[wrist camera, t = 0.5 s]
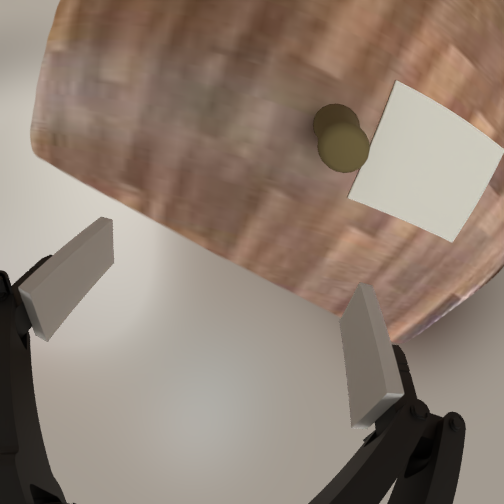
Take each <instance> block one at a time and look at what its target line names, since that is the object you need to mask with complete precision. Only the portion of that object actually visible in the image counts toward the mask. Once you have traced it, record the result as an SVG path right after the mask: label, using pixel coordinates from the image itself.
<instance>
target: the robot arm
mask: <svg viewBox="0 0 504 504" xmlns="http://www.w3.org/2000/svg"><path fill="white" fill-rule="evenodd" d="M113 263H114V251H113V223H112V219H108V218H104V217H100V218H99V219H98V220H96V221H95V222H93V223H92V224H91V225H90V226H89V227H87V228H86V229H84V230H83V231H82V232H81V233H79V234H78V235H77V236H76V237H74V238H73V239H72V240H71V241H70V242H68V243H67V244H66V245H65V246H63V247H62V248H61V249H60V250H59V251H58V252H56V253H55V254H54V255H49V256H47V257H44V258H42V259H41V260H40V261H39V262H37V263H36V264H35V266H33V267H32V268H31V269H30V270H29V271H27V272H26V273H25V274H24V275H23V276H22V277H21V278H20V279H19V280H18V281H16V282H15V283H14V284H13V285H12V286H11V283H10V280H9V277H8V274H7V273H6V272H5V271H1V270H0V504H68V503H67V502H66V500H65V497H64V495H63V492H62V490H61V488H60V486H59V484H58V482H57V481H56V479H55V478H54V477H53V474H52V472H51V469H50V465H49V462H48V458H47V454H46V451H45V446H44V443H43V438H42V434H41V429H40V424H39V419H38V413H37V407H36V401H35V394H34V386H33V378H32V366H31V351H30V335H29V332H28V330H29V329H30V328H31V327H33V330H34V332H35V335H36V336H38V337H40V338H41V339H43V340H45V341H47V342H48V341H49V339H50V338H51V337H52V335H53V334H54V333H55V331H56V330H57V329H58V328H59V326H60V325H61V324H62V323H63V321H64V320H65V319H66V318H67V316H68V315H69V314H70V313H71V312H72V310H73V309H74V308H75V307H76V305H77V304H78V303H79V302H80V301H81V300H82V298H83V297H84V296H85V295H86V294H87V293H88V291H89V290H90V289H91V288H92V287H93V286H94V285H95V283H96V282H97V281H98V280H99V279H100V278H101V276H103V274H104V273H105V272H106V271H107V270H108V269H109V268H110V267H111V265H112V264H113ZM340 329H341V336H342V343H343V350H344V358H345V367H346V375H347V385H348V395H349V405H350V417H351V428H362V429H367V428H368V427H370V426H371V425H372V424H373V423H374V422H375V428H376V430H375V431H373V432H372V433H371V434H370V435H369V436H367V437H366V438H365V439H364V440H363V441H364V444H363V445H362V446H361V447H360V449H359V450H358V451H357V452H356V453H355V455H354V456H353V457H352V458H351V459H350V461H349V462H348V463H347V464H346V465H345V466H344V467H343V469H342V470H341V471H340V472H339V473H338V474H337V475H336V476H335V478H333V479H332V481H331V482H330V483H329V484H328V485H327V486H326V487H325V488H324V489H323V490H322V491H321V492H320V493H319V494H318V495H317V496H316V497H315V498H314V499H313V500H312V501H311V502H310V503H308V504H379V503H380V501H381V500H382V498H383V497H384V496H385V495H386V493H387V492H388V490H389V489H390V488H391V486H392V484H393V483H394V482H395V480H396V479H397V480H396V483H395V486H394V488H393V491H392V494H391V496H390V499H389V501H388V503H387V504H453V500H454V496H455V492H456V487H457V483H458V478H459V472H460V466H461V461H462V455H463V448H464V439H465V430H466V428H465V422H464V420H463V418H462V417H461V415H459V414H458V413H456V412H449V413H448V414H446V415H445V416H444V417H440V416H437V415H434V414H431V413H430V411H429V409H428V407H427V405H426V404H425V403H424V402H422V401H421V400H419V399H417V396H416V393H415V389H414V385H413V382H412V377H411V374H410V373H409V371H410V370H409V367H408V365H407V360H406V357H405V354H404V353H403V351H402V350H401V348H400V347H399V346H398V345H392V344H391V341H390V338H389V334H388V331H387V328H386V324H385V321H384V318H383V315H382V312H381V309H380V306H379V303H378V300H377V297H376V294H375V291H374V288H373V285H369V284H365V283H361V282H359V284H358V286H357V288H356V290H355V292H354V294H353V296H352V298H351V300H350V302H349V304H348V306H347V308H346V310H345V312H344V314H343V315H342V317H341V319H340ZM397 477H398V478H397ZM73 504H75V503H73Z"/></svg>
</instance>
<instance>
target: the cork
mask: <svg viewBox="0 0 504 504" xmlns="http://www.w3.org/2000/svg"><path fill="white" fill-rule="evenodd" d="M313 127H314V132H315V134H316V136H317V138H318V152H319V155H320V157H321V159H322V161H323V162H324V163H325V164H326V165H327V166H328V167H329V168H331V169H333V170H335V171H337V172H342V173H348V172H353V171H355V170H358V169H359V168H360V167H362V166H363V165H364V164H365V162H366V160H367V159H368V156H369V151H370V146H369V140H368V138H367V136H366V134H365V133H364V132H363V130H362V129H361V128H360V125H359V120H358V118H357V116H356V114H355V113H354V112H353V111H352V110H351V109H350V108H348V107H346V106H344V105H340V104H330V105H327V106H325V107H323V108H321V109H320V110H319V111H318V112H317V114H316V116H315V118H314V123H313Z"/></svg>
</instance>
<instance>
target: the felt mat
mask: <svg viewBox="0 0 504 504" xmlns="http://www.w3.org/2000/svg"><path fill="white" fill-rule="evenodd" d="M503 153H504V149H503V148H502V147H500V146H499V145H498V144H497V143H495V142H494V141H493V140H492V139H490V138H489V137H488V136H486V135H485V134H484V133H482V132H481V131H480V130H478V129H477V128H476V127H474V126H473V125H471V124H470V123H468V122H467V121H466V120H464V119H463V118H461V117H460V116H458V115H457V114H455V113H453V112H452V111H450V110H449V109H447V108H446V107H444V106H442V105H441V104H439V103H437V102H436V101H434V100H432V99H431V98H429V97H427V96H425V95H423V94H422V93H420V92H418V91H416V90H414V89H412V88H410V87H409V86H407V85H405V84H403V83H401V82H399V81H397V80H396V81H395V83H394V86H393V89H392V91H391V94H390V97H389V99H388V102H387V104H386V107H385V110H384V112H383V115H382V117H381V120H380V122H379V125H378V127H377V130H376V132H375V135H374V137H373V139H372V142H371V144H370V151H369V156H368V159H367V160H366V162H365V164H364V165H363V166H362V167H360V170H359V172H358V174H357V177H356V179H355V181H354V183H353V185H352V188H351V190H350V192H349V194H348V196H347V197H348V198H349V199H352V200H354V201H357V202H359V203H362V204H365V205H367V206H370V207H372V208H375V209H377V210H380V211H382V212H385V213H387V214H390V215H392V216H394V217H397V218H399V219H401V220H404V221H406V222H408V223H411V224H413V225H415V226H418V227H420V228H422V229H424V230H426V231H429V232H431V233H433V234H435V235H437V236H439V237H442V238H444V239H446V240H448V241H450V242H453V241H454V239H455V238H456V236H457V235H458V233H459V232H460V230H461V229H462V227H463V225H464V224H465V222H466V221H467V219H468V217H469V216H470V214H471V213H472V211H473V209H474V208H475V206H476V204H477V202H478V201H479V199H480V197H481V196H482V194H483V192H484V190H485V188H486V187H487V185H488V183H489V181H490V179H491V177H492V175H493V173H494V171H495V169H496V167H497V165H498V163H499V161H500V159H501V157H502V155H503Z"/></svg>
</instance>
